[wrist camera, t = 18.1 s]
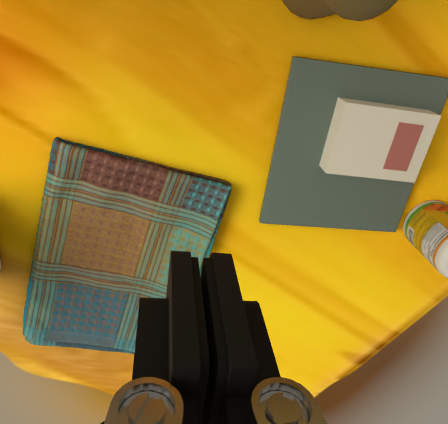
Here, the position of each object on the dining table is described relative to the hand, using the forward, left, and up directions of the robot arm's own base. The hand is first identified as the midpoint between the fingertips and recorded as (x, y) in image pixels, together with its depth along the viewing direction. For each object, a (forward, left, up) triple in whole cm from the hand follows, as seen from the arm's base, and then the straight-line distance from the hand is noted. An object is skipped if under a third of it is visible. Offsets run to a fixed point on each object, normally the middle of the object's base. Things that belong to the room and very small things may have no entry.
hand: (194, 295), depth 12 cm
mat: (+4, +17, -27) cm, 32 cm away
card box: (+2, +14, -26) cm, 29 cm away
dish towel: (+18, -4, -28) cm, 34 cm away
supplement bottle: (+11, +28, -27) cm, 41 cm away
